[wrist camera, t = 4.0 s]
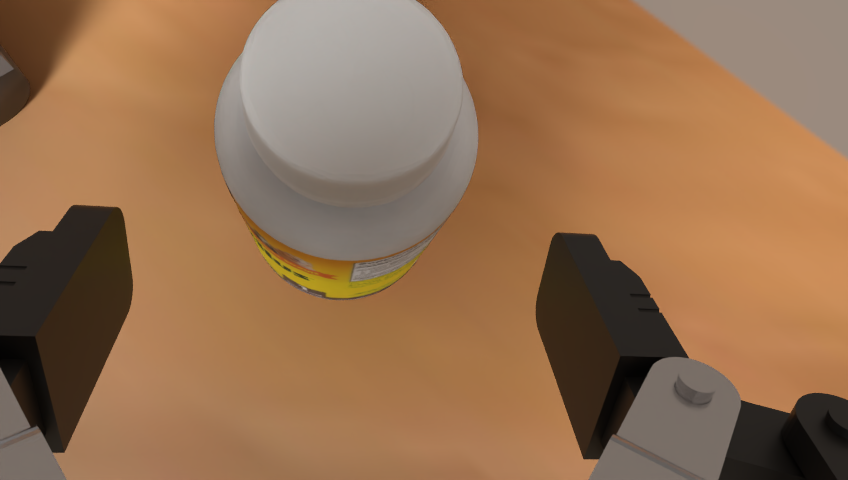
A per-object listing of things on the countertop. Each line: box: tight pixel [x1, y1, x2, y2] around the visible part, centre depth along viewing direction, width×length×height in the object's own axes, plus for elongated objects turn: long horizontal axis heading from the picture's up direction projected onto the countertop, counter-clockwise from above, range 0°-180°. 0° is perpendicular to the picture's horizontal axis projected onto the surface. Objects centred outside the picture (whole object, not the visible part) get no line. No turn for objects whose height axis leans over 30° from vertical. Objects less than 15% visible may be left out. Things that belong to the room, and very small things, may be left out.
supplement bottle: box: [214, 0, 478, 300], centre depth 17 cm, size 6×6×10 cm
